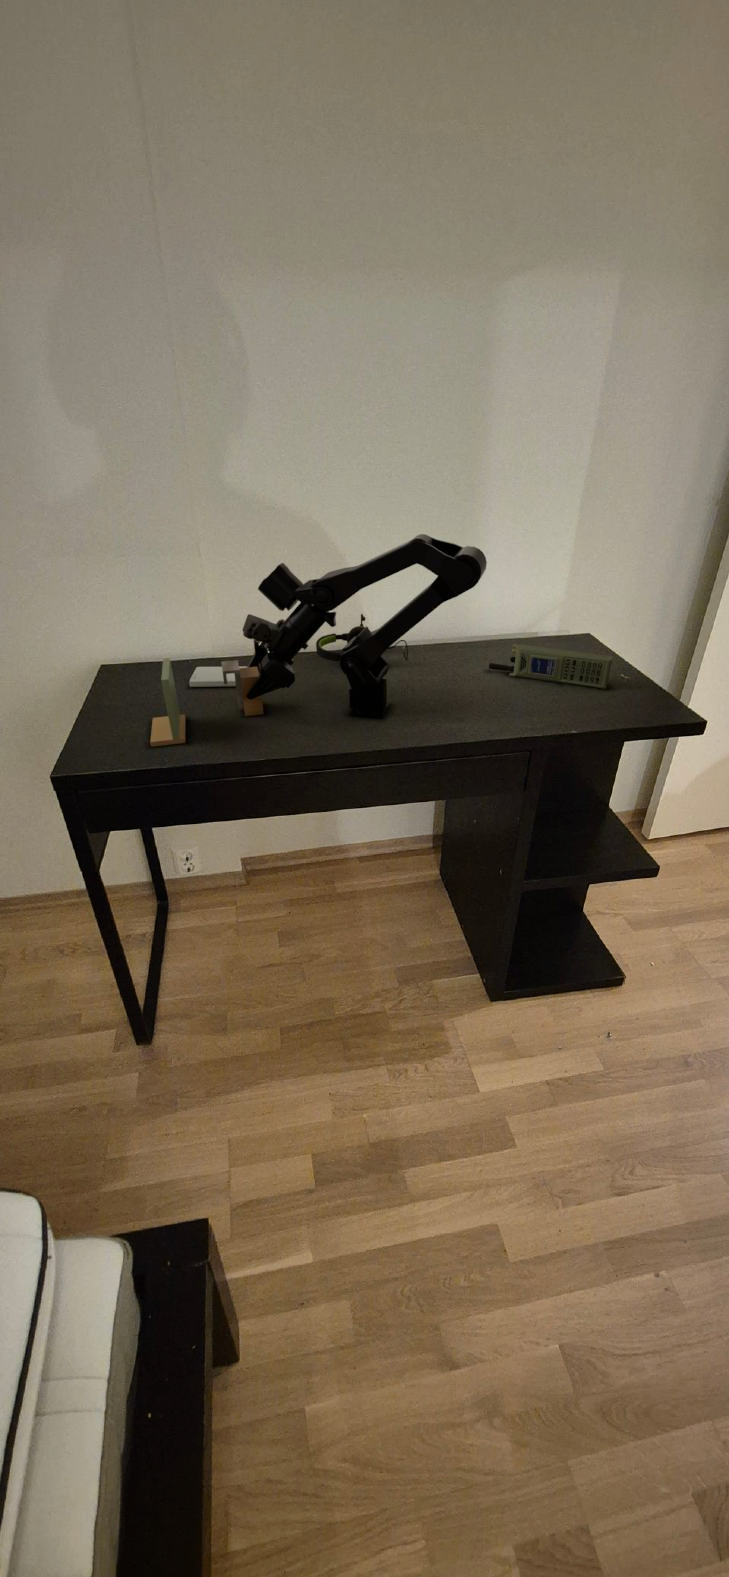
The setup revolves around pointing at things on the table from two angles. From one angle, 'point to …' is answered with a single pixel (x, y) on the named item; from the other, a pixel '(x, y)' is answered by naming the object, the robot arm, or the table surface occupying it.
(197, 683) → the hard drive
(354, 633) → the headphones
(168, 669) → the door panel
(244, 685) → the lidded tan box
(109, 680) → the table surface
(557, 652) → the handheld radio
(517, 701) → the table surface
